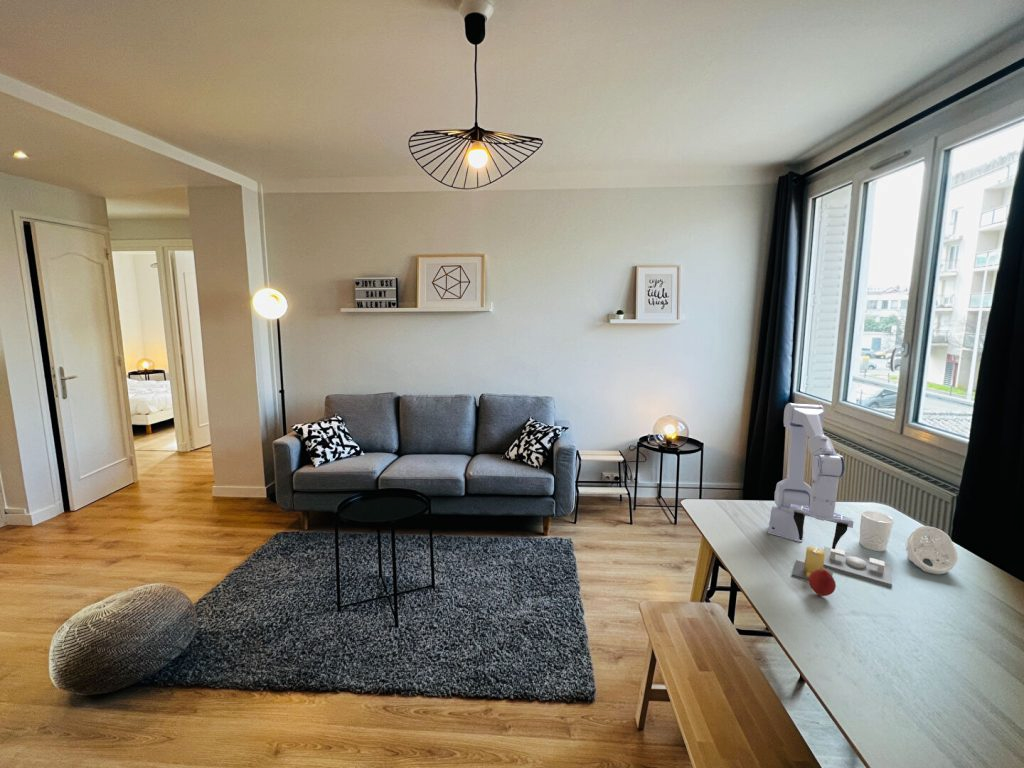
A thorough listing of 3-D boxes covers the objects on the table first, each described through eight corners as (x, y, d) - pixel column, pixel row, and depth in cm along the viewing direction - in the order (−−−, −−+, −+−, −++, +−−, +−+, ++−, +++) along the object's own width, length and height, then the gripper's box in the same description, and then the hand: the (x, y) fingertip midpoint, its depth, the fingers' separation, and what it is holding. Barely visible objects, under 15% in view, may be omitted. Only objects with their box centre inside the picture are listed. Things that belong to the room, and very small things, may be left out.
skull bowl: (941, 550, 141) (954, 528, 133) (948, 593, 132) (963, 572, 125) (897, 540, 146) (908, 518, 138) (901, 581, 137) (912, 560, 130)
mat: (792, 576, 129) (792, 574, 129) (796, 561, 136) (796, 559, 136) (830, 588, 124) (830, 586, 124) (832, 572, 131) (833, 570, 131)
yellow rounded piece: (807, 563, 134) (810, 542, 133) (825, 569, 131) (828, 547, 130) (800, 574, 129) (803, 552, 128) (818, 581, 126) (822, 558, 125)
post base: (820, 566, 134) (822, 555, 133) (823, 549, 143) (825, 538, 143) (891, 587, 124) (893, 575, 124) (889, 567, 134) (891, 556, 133)
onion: (829, 591, 123) (833, 564, 121) (836, 604, 117) (841, 576, 116) (804, 586, 124) (808, 559, 123) (810, 599, 119) (814, 571, 118)
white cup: (877, 540, 149) (882, 511, 147) (894, 553, 141) (900, 523, 140) (851, 538, 150) (855, 510, 148) (867, 552, 142) (872, 521, 140)
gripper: (790, 495, 127) (784, 540, 130) (855, 510, 118) (848, 558, 121) (794, 487, 133) (788, 530, 135) (856, 500, 124) (849, 546, 127)
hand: (816, 543), depth 128 cm, fingers open, 7 cm apart
